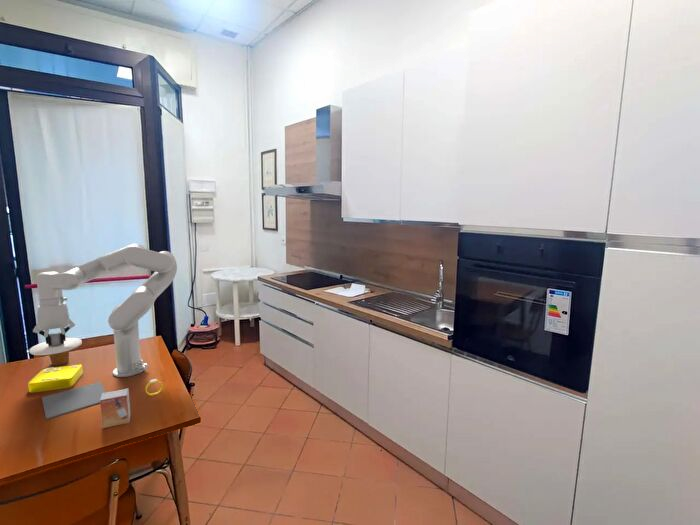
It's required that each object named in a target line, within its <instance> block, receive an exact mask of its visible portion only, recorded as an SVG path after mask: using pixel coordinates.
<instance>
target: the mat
mask: <svg viewBox="0 0 700 525" xmlns="http://www.w3.org/2000/svg"><path fill="white" fill-rule="evenodd" d="M106 392H107V391H106V389H105V387H104V385H103V383H102V382H101V381H97V382H94V383H90V384H87V385H82V386H79V387H76V388H72V389H68V390H65V391H61V392H57V393H53V394H50V395H46V396H42V397H41V400H42V405H43V410H44V416H45V420H46V421H48V420H51V419H53V418H56V417H57V418H58V417H60V416H62V415H65V414H69V413H72V412H75V411H79V410H82V409H85V408H90V407H93V406H95V405H100V399H101V396H102V393H106Z"/></svg>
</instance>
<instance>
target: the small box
mask: <svg viewBox="0 0 700 525" xmlns="http://www.w3.org/2000/svg"><path fill="white" fill-rule="evenodd" d="M130 403H131V402H130V389H129V388H124V389H118V390H113V391H106V393H102V396H101V399H100V403H99V407H100V419H101V429H106V428H110V427H114V426H115V427H116V426H119V425H126V424H129V423H130V420H131V404H130Z"/></svg>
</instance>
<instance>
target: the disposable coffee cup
mask: <svg viewBox="0 0 700 525" xmlns="http://www.w3.org/2000/svg"><path fill="white" fill-rule="evenodd" d="M65 338H70V336H69V335H65ZM48 356H49V358H50V362H51V365H52V366H61V365H64V364H67V363H69V360H70V350H69V351H65V352H61V353H56V354H50V355H48Z"/></svg>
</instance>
